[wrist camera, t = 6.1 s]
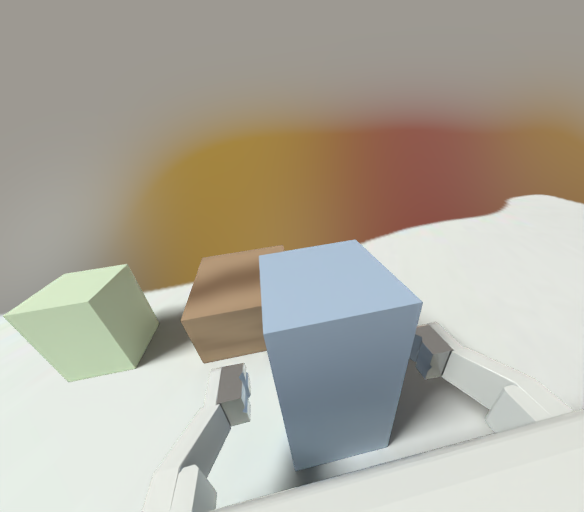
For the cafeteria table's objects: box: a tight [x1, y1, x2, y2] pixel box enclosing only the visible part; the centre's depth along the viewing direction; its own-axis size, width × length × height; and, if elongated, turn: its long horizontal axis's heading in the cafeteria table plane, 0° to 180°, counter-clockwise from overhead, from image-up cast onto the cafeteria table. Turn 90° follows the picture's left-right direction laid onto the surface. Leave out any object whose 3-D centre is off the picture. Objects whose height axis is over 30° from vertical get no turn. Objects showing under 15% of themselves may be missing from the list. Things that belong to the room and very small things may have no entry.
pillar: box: [259, 240, 423, 471], centre depth 11 cm, size 5×5×10 cm
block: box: [3, 264, 159, 382], centre depth 18 cm, size 5×5×7 cm
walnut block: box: [181, 245, 284, 363], centre depth 19 cm, size 8×8×5 cm
